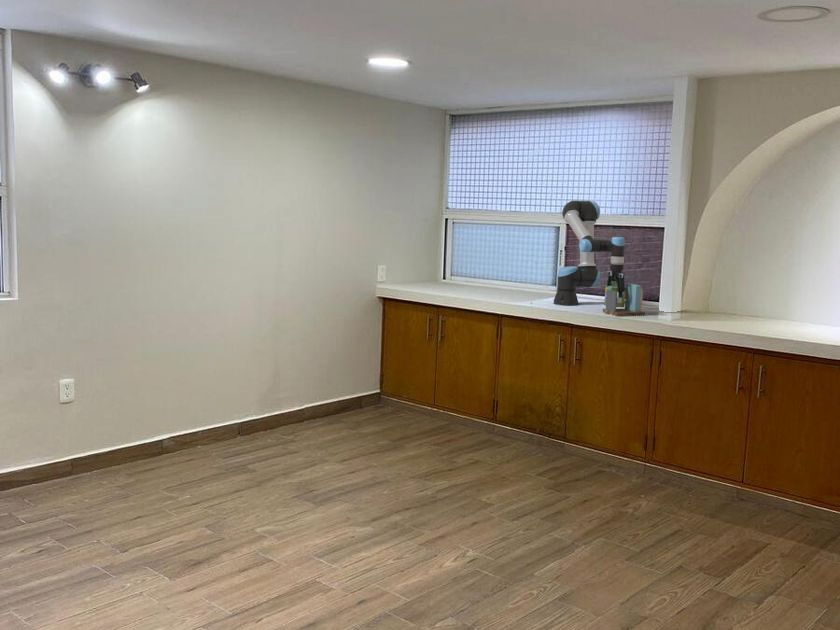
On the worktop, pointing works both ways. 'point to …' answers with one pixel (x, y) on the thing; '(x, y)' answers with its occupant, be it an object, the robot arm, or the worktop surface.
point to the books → (633, 298)
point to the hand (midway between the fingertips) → (614, 302)
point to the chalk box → (615, 288)
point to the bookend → (611, 300)
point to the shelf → (624, 312)
